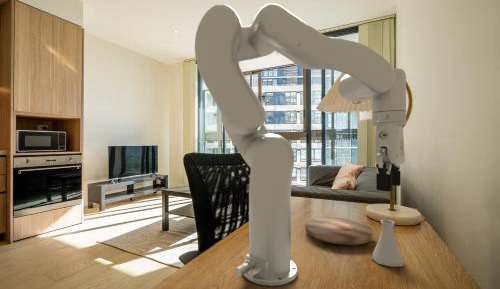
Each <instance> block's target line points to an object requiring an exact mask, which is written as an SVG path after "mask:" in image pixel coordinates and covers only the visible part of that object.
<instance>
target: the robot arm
mask: <svg viewBox="0 0 500 289" xmlns="http://www.w3.org/2000/svg"><path fill="white" fill-rule="evenodd" d="M275 52H277V53H279V54H280V55H281V56H283V57H285V58H287V59H288V60H289V61H292V63H294V64H295V65H297V66H299V67H300V68H301V69H306V70H313V71H314V70H316V71H317V70H329V71H331V70H332V71H337V72H339V73H343V74H345V75H343V76H342V78H340V80H339V82H338V85H337V89H338V93H339V94H340V96H341V97H342V98H343V99H345V100H346V101H347V100H348V101H351V102H357V101H358V102H359V101H366V100H371V113H372V114H371V126H372V127H375V133H374V134H375V136H374V161H375V164H376V165H375V166H376V171H375V172H376V178H375V179H376V180H375V182H376V185H375V186H376V190H377V191H381V192H392V190H393V186H396V187H399V186H401V182H402V180H401V174H402V173H401V165H403V164H405V162H406V159H405V158H406V156H405V140H404V136H405V135H404V127H403V126H407V74H406V71H405V70H404V69H402V68H400V67H399V68H398V67H397V68H396V67H395V68H394V67H393V65H392V64H391V63H390V62H389V61H388V60H387V59H386V58H385V57H384V56H382V55H381V54H379V53H378V52H376V51H375V50H373V49H372V48H370V47H369V46H367V45H365V44H362V43H359V42H356V41H352V40H347V39H344V38H341V37H340V38H339V37H335V36H329V35H326V34H323V33H321V32H320V31H318V30H317V29H316V28H314V27H312V25H310V24H308V23H307V22H306V21H304V20H302V19H301V18H299V17H298V16H297V15H295V14H293V13H292V12H290V11H289V10H288V9H286V8H284V7H283V6H281V5H279V4H278V3H272V2H270V3H267V4H265V5H264V6H262V7H261V8H260V9H259V10H258V12H256V15H255V16H254V18H253V21H252V22H251V25H247V26H243V23H242V20H241V18H240V16H239V15H238V13H237V11H236V10H235V9H233V7H231V6H230V5H227V4H222V3H219V4H215V5H213V6H211V7H210V8H209V9H208V10H207V11H206V12H205V13H204V14H203V16H202V18H201V19H200V22H199V23H198V27H197V28H196V33H195V39H194V53H195V54H194V55H195V62H196V66H197V69H198V72H199V75H200V77H201V79H202V81H203V82H204V84H205V87H206V88H207V90H208V92H209V93H210V96H211V97H212V99H213V100H214V102H215V104H216V105H217V107H218V109H219V110H220V112H221V124H222V126H223V128H224V130H225V132H226V134H227V136H228V137H229V138H230V140H231V141H232V143H233V144H234V146H235V147H236V150H237V151H238V152H239V154H240V155H241V157H242V159H243V160H244V162H245V163H246V165H248V167H250V174H249V183H248V184H249V186H248V254H246V255H245V258H246V259H245V261H244V262H243V263H242V264H240V265H239V266H237V267H235V268H234V274H235V276H236V277H237V278H240V277H242V276H244V277H245V279H247V280H248V281H250V282H251V283H254V284H257V285H261V286H268V287H276V286H277V287H278V286H283V285H286V284H289V283H291V282H293V281H294V280H295V279H296V278H297V276H298V266H297V265H296V263H295V262H294V261H293V260H291V236H292V235H291V232H292V231H291V228H292V226H291V225H292V223H291V216H292V208H291V207H292V204H291V203H292V200H291V199H292V198H291V197H292V194H291V192H292V180H293V179H292V178H293V172H294V165H295V154H294V150H293V147H292V145H291V143H290V142H289V141H288V139H286V138H285V137H284V136H282V135H280V134H277V133H270V132H269V131H268V129H267V128H266V126H265V121H266V110H265V107H264V105H263V104H262V102H261V100H260V99H259V97H258V96H257V94H256V93H255V91H254V89H253V88H252V86H251V85H250V83H249V81H248V80H247V78H246V76H245V75H244V73H243V70H242V68H241V67H240V65H239V62H244V61H249V60H250V61H251V60H255V59H259V58H263V57H267V56H269V55H271V54H273V53H275Z"/></svg>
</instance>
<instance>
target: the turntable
mask: <svg viewBox="0 0 500 289" xmlns="http://www.w3.org/2000/svg"><path fill="white" fill-rule="evenodd" d="M304 227H305V228H304V229H305V232H306V233H307V234H308V235H309V236H310V237H312V238H314V239H317V240H320V241H322V242H324V241H325V242H324V243H327V242H330V243H329V244H331V243H335V244H334V245H336V244H345V245H344V246H355V245H362V244H366V243H369V242H371V241H372V240H373V235H374V233H373V228H371V227H370V226H369V225H367V224H365V223H364V222H361V221H357V220H353V219H349V218H343V217H337V216H336V217H335V216H332V217H331V216H321V217H315V218H310V219H308V220H307V221H306V222H305V226H304Z"/></svg>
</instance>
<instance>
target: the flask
mask: <svg viewBox="0 0 500 289" xmlns="http://www.w3.org/2000/svg"><path fill="white" fill-rule="evenodd" d="M380 224H381V232H380V235H379V238H378V240H377V243H376V245H375V247H374V250H373V253H372V256H371V259H372V261H375V262H376V263H377V264H379V265H382V266H387V267H391V268H396V267H404V260H403V257H402V255H401V252H400V249H399V246H398V244H397V240H396V237H395V233H394V231H395V230H394V226H395V224H396V223H395V221H394V220H390V219H381V220H380Z"/></svg>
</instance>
